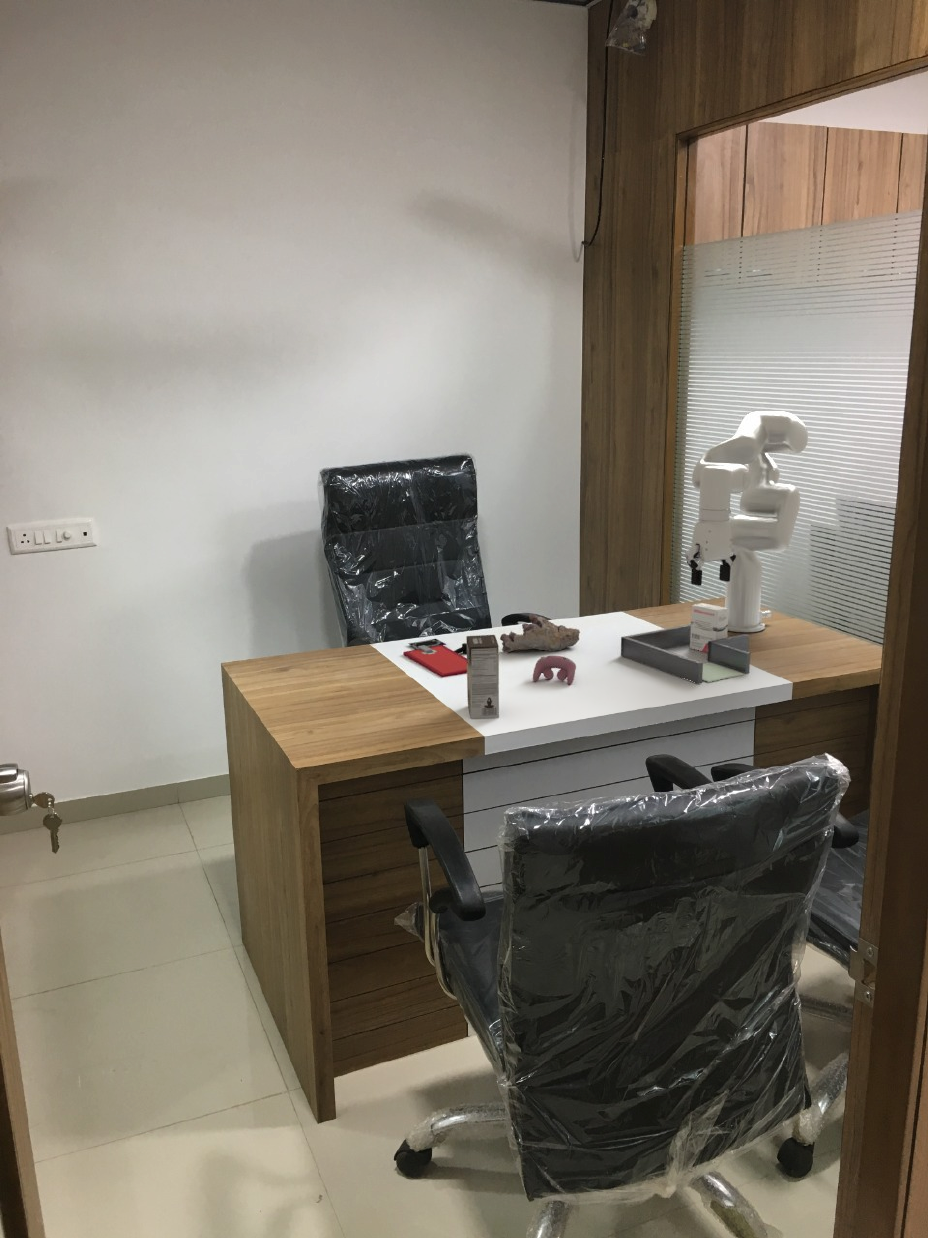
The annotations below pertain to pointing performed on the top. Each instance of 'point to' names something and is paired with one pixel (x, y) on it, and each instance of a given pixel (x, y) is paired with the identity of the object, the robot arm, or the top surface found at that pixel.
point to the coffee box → (483, 676)
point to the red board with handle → (439, 657)
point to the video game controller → (559, 662)
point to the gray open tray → (652, 654)
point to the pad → (717, 672)
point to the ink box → (707, 625)
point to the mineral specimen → (540, 636)
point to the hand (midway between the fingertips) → (710, 582)
